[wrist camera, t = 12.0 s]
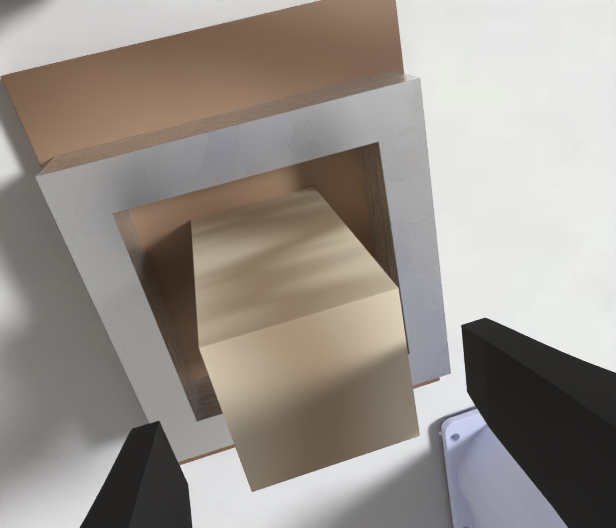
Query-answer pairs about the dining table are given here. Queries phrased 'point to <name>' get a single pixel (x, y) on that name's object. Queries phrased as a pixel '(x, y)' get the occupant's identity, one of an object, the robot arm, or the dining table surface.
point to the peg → (299, 337)
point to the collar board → (231, 177)
